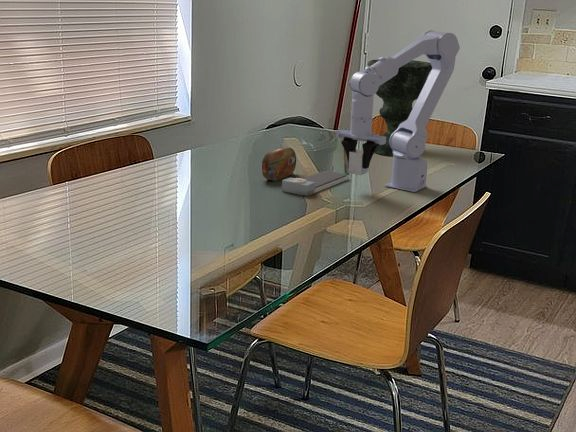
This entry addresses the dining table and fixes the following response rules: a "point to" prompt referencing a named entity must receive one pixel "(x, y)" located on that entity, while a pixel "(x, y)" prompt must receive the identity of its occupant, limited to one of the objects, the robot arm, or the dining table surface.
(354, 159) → the block
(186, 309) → the dining table surface
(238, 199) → the dining table surface
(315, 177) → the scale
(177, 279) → the dining table surface
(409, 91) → the goblet
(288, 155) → the tin
